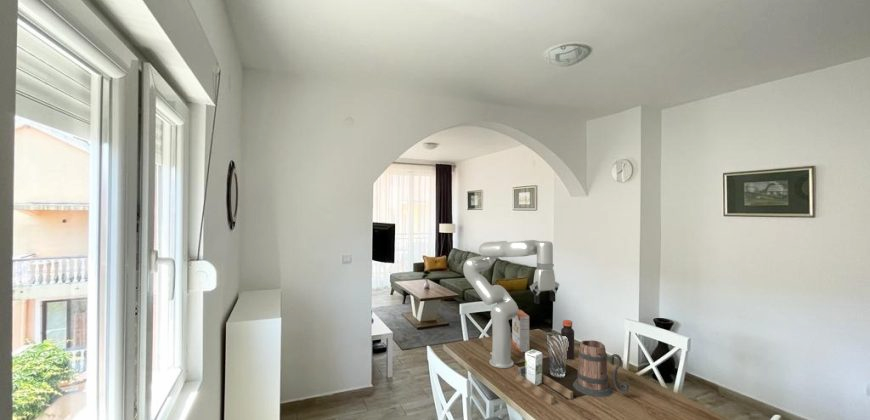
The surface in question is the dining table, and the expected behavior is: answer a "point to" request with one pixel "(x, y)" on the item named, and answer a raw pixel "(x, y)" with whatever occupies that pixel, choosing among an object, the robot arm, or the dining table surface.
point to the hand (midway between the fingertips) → (544, 302)
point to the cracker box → (520, 331)
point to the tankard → (596, 370)
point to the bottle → (569, 334)
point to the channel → (540, 392)
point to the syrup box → (533, 366)
